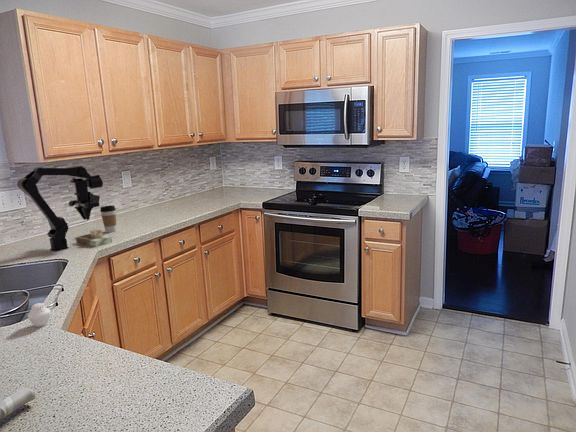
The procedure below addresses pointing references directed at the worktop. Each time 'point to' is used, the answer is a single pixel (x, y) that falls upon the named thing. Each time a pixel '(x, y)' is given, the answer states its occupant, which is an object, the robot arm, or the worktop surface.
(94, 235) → the beech block
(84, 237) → the trap board
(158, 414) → the worktop surface
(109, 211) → the coffee cup
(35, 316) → the pale grey rounded lump
